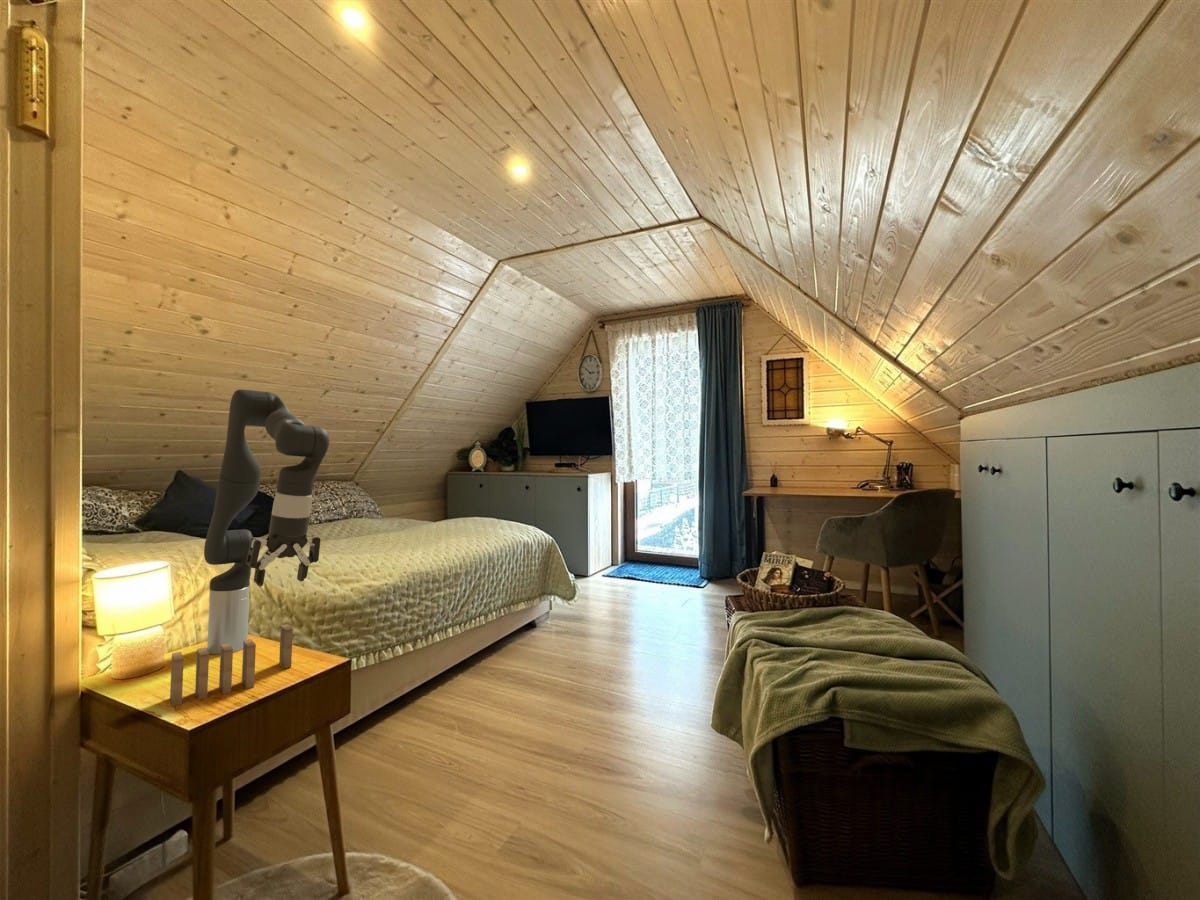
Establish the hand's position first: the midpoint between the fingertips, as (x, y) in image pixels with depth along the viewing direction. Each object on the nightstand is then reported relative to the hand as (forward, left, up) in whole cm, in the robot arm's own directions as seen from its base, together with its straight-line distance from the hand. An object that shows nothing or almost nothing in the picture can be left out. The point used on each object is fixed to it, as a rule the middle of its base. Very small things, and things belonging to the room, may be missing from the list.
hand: (280, 582), depth 119 cm
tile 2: (-13, -3, -26) cm, 29 cm away
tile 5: (-13, -16, -26) cm, 34 cm away
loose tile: (-20, +7, -26) cm, 34 cm away
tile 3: (-13, -7, -26) cm, 30 cm away
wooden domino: (-13, -12, -26) cm, 32 cm away
